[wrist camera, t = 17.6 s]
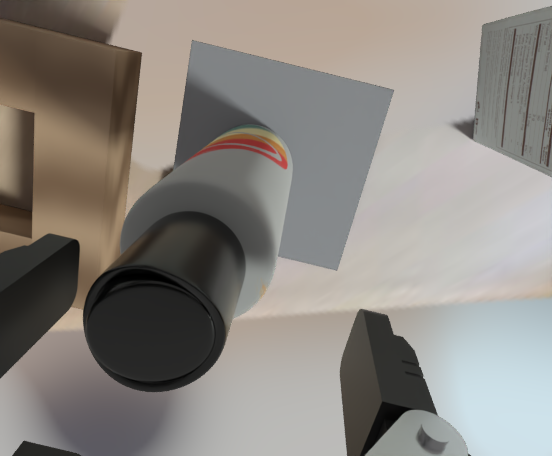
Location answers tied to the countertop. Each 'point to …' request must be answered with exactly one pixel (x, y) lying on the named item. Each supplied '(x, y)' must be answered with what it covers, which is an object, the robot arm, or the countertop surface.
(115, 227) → the block
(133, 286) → the lotion bottle
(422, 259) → the countertop surface
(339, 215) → the rubber mat
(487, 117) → the supplement box
